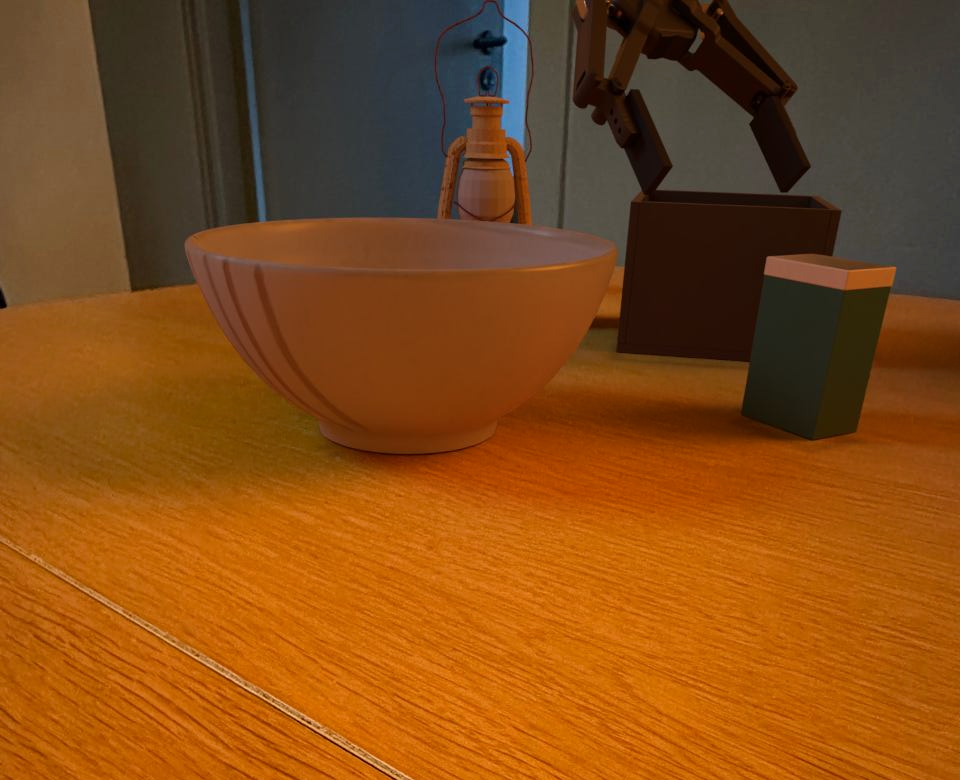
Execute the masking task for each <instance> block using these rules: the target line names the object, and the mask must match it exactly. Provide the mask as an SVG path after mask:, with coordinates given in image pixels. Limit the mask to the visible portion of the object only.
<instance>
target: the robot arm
mask: <svg viewBox="0 0 960 780" xmlns="http://www.w3.org/2000/svg"><path fill="white" fill-rule="evenodd" d="M571 16H572V18H573V22H574V25H575V29H576V31H577V32H576V33H577V34H576V35H577V36H576V49H575V61H574V62H575V63H574V75H573V86H572V87H573V88H572V102H573V104H574V106H576V107H577V108H579V109H582V110H583V109H584V110H585V109H586V108H588V107H589V106H592V107H594V109H593V111H592V112H591V114H590V118H591V120H592V121H593V122H594V124H596V125H598V126H604V125H605V124H606V123H607V124H608V127H609V129H610V131H611V133H612V135H613V139H614V140H615V143H616V144H617V145H618V146H619V148H620V149H623V150H624V152H625V154H626V157H627V159H628V161H629V164H630V166H631V168H632V170H633V173H634V175H635V178H636V181H637V183H638V184H639V186H640V190H642V192H643V194H644V195H652V194H653V193H654V192H655V190H658V188H659V187H660V185H661V183H662V182H663V181H664V180H665V178H666V177H667V175H668V174H669V173H670V171H671V170H672V169H673V167H674V165H673V162H672V161H671V158H670V156H669V154H668V151H667V150H666V147H665V145H664V142H663V140H662V138H661V136H660V133H659V131H658V129H657V127H656V125H655V122H654V120H653V117H652V116H651V113H650V110H649V109H648V106H647V104H646V102H645V99H644V97H643V95H642V92H641V90H640V89H639V88H638V89H637V88H635V89H634V88H630V90H629V91H628V92H627V93H626V90H627V88H628V86H629V84H630V82H631V79H632V76H633V74H634V71H635V68H636V66H637V64H638V61H639V58H640V56H641V54H642V55H644V56H646V58H647V60H660V59H665V60H669V61H672V62H677V63H678V64H680V65H681V66H682V67H683V68H684V69H685V70H687V71H689V72H694V71H697V72H700V74H701V75H703V76H704V77H705V78H706V79H708V80H709V82H711V83H712V84H713V85H715V87H717V88H718V89H719V90H720V91H722V92H723V93H724V94H725V95H726V96H728V97H729V98H730V99H731V100H732V101H733V102H735V103H736V105H738V106H739V107H741V109H743V110H744V111H745V112H746V113H748V114H749V115H750V116H751V117H752V119H751V121H750V122H749V123H748V125H749V128H750V130H751V132H752V134H753V136H754V138H755V140H756V142H757V145H758V147H759V149H760V151H761V154H762V156H763V158H764V160H765V162H766V165H767V167H768V168H769V171H770V174H771V175H772V177H773V179H774V182H775V184H776V186H777V188H778V190H779V192H780V193H781V194H787V193H789V192H790V191H791V189H793V188H794V186H795V185H797V183H798V182H799V181H800V180H801V179H802V178H803V176H805V174H806V173H807V172H809V170H810V169H811V168H812V165H811V163H810V161H809V159H808V156H807V154H806V152H805V151H804V149H803V146H802V144H801V141H800V140H799V137H798V134H797V130H796V128H795V126H794V124H793V122H792V119H791V118H790V117H791V116H790V115H789V113H788V111H787V109H786V107H785V106H786V105H787V104H788V102H789V101H790V100H791V99H792V98H793V96H794V95H795V94H796V93H797V92H798V90H799V88H798V85H797V83H796V82H795V81H794V80H793V78H792V77H791V76H790V75H789V74H788V73H787V71H786V70H784V68H783V67H782V66H781V65H780V64H779V63H778V62H777V60H776V59H775V58H774V57H773V56H772V55H771V53H770V52H769V51H768V50H767V49H766V48H765V47H764V46H763V44H762V43H761V42H760V41H759V40H758V39H757V38H756V37H755V36H754V34H753V33H752V32H751V31H750V30H749V29H748V28H747V26H746V25H744V23H743V22H742V21H741V20H740V19H739V18H738V16H737V15H736V13H735V11H734V10H733V7H732V6H731V4H730V2H729V0H712V1H711V3H708V4H701V2H700V1H699V0H576V2H575V4H574V7H573V8H572V10H571ZM607 28H608V29H610V30H613V31H616V32H617V33H618V34H619V35H620V36H621V37H622V39H621V43H620V46H619V48H618V51H617V53H616V55H615V57H614V58H615V60H614V62H613V64H612V67H611V69H610V72H609V74H608V76H607V77H605V62H606V48H607V47H606V46H607V45H606V44H607V43H606V42H607V30H608V29H607ZM699 31H700V32H701V33H700V34H699V38H700V39H701V40H702V41H701V43H700V44H699V46H698V47H697V49H696V50H695V51H694V52H691V51H690V49H691V48H692V46H693V44H694V43H695V41H696V39H697V37H698V32H699Z"/></svg>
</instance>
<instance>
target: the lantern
mask: <svg viewBox="0 0 960 780" xmlns="http://www.w3.org/2000/svg"><path fill="white" fill-rule="evenodd" d="M487 3H494V4H495V5H496V9H497V13H498V14H499V15H500V17H501V18H503V19H504V20H505V21H507V22H509V23H510V24H512V25H514V26H515V27H516V28H517V29H519V30H520V31H521V32H522V34H523V35H524V36H525V37H526V38H527V40H528V43H529V50H530V53H529V54H530V60H531V78H530V82H529V87H528V91H527V93H526V108H525V117H524V122H525V126H526V129H527V132H528V137H529V145H530V147H529V151H528V154H527V155H526V156H525V151H524V148H523V147H522V145H521V143H520V142H519V141H518V140H516V139H515V138H514V137H511V136H506V129H505V128H501V117H503V115H504V105H509V104H510V100H508V99H505V98H502V97H498V96H497V92H498V87H499V74H498V72H497V70H495V68H493V67H492V66H491V65H486V66H484V67H483V68H482V69H481V70H480V71H479V73H478V75H477V86H478V87H477V88H478V96H474V97H469V98H465V99H463V102H464V103H465V104H470V107H469V110H470V111H469V115H470V116H472V128H471V127H468V128H466V135H461V136H458V137H457V138H455V139H454V140H453V141H452V142H451V143H450V145H449V147H448V150H447V153H445V151H444V133H445V127H446V121H447V119H446V101H445V98H444V95H443V92H442V89H441V86H440V82H439V78H438V72H437V58H438V56H437V55H438V50H439V44H440V41H441V39H442V37H443V36H444V35H445V34H446V33H447V32H448V31H450V30H451V29H453V28H455V27H456V26H458V25H461V24H463V23H466V22H468V21H471V20H473V19H474V18H477V17H478V16H479V15H481V14H483V11H484V10H485V7H486V6H485V5H486V4H487ZM433 66H434V77H435V81H436V85H437V88H438V91H439V94H440V97H441V100H442V108H443V110H442V112H443V113H442V115H443V124H442V129H441V137H440V140H441V141H440V146H441V147H440V149H441V152H442V154H443V156H444V157H445V158H446V159H445V164H444V171H443V177H442V183H441V187H440V195H439V202H438V209H437V216H436V217H437V218H436V219H452V211H453V204H454V205H456V209H457V215H458V218H459V220H474V221H489V222H502V223H511V220H512V218H513V216H514V211H515V207H516V208H517V221H518V224H524V225H533V220H532V208H531V197H530V189H529V181H528V172H527V171H528V170H527V163H526V162H528V159H529V157H530V155H531V152H532V150H533V142H532V141H533V140H532V135H531V130H530V128H529V123H528V109H529V101H530V92H531V89H532V85H533V80H534V75H535V74H534V55H533V44H532V41H531V38H530V37H529V35H528V34H527V32H525V30H524V29H523V28H522V27H520V25H519V24H517V23H516V22H514V21H513V20H511V19H509V18H508V17H506V16H505V15H503V13H502V12H501V10H500V6H499V2H498V1H496V0H484V1H483V3H482V7H481V9H480V10H479V11H478V12H477V13H476V14H473V15H471V16H470V17H467V18H465V19H462V20H460V21H458V22H456V23H454V24H452V25H451V26H448V27H447V28H445V30H444V31H443V32H442V33H441V34H440V35H439V37H438V39H437V41H436V46H435V52H434V65H433ZM486 69H491V70H492V71H493V73H495V75H496V85H495V92H494V95H493V94H490V90H485V94H481V85H480V77H481V74H482V73H483V72H484V71H485V70H486ZM474 104H486V105H474ZM492 104H494V105H495V104H497V105H498V106H496V105H495V106H494V105H492ZM499 105H500V106H499ZM508 153H509V154H508ZM461 158H467V159H465V160H463V161H462V165H461V166H460V163H461ZM510 158H511V159H510ZM507 159H510V160H511V165H512V166H511V167H510V161H507ZM459 168H462V169H461V172H460V174H459ZM511 168H512V170H511ZM458 174H459V176H458ZM456 185H457V188H456ZM455 191H456V195H455ZM455 196H456V197H455ZM454 198H456V200H454Z"/></svg>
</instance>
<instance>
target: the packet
mask: <svg viewBox="0 0 960 780" xmlns="http://www.w3.org/2000/svg"><path fill="white" fill-rule="evenodd" d="M896 271H897V267H896V266H891V265H887V264H886V265H885V264H879V263H873V262H866V261H861V260H855V259H849V258H843V257H836V256H832V257H831V256H825V255H819V254H800V255H784V256H768V257H767V259H766V265H765V271H764V275H765V276H764V282H763V288H762V294H761V299H760V305H759V311H758V317H757V323H756V329H755V334H754V340H753V346H752V352H751V358H750V361H749V365H748V370H747V375H746V381H745V388H744V394H743V400H742V404H741V411H740V415H742V416H745V417H748V418H750V419H753V420H755V421H759V422H761V423H764V424H766V425H770V426H772V427H776V428H778V429H780V430H784V431H786V432H789V433H791V434H794V435H797V436H799V437H800V436H801V437H803V438H805V439H809V440H811V441H815V440H820V439H826V438H831V437H836V436H841V435H847V434H851V433H857V431H858V427H859V422H860V418H861V414H862V411H863V410H862V409H863V405H864V401H865V399H866V398H865V397H866V393H867V389H868V384H869V380H870V376H871V372H872V369H873V364H874V361H875V355H876V352H877V348H878V347H877V346H878V343H879V339H880V334H881V330H882V327H883V322H884V318H885V314H886V310H887V306H888V301H889V297H890V293H891V289H892V286H893V285H894V279H895V276H896Z"/></svg>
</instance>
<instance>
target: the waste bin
mask: <svg viewBox="0 0 960 780" xmlns="http://www.w3.org/2000/svg"><path fill="white" fill-rule="evenodd" d="M629 206H630V207H629V217H628V227H627V236H626V246H625V257H624V258H625V259H624V267H623V277H622V288H621V297H620V298H621V299H620V309H619V310H620V311H619V320H618V329H617V330H618V331H617V339H616V349H615V351H616V353H624V354H627V353H628V354H640V355H651V356H652V355H653V356H666V357H667V356H668V357H679V358H681V357H682V358H695V359H712V360H723V361H724V360H725V361H737V362H738V361H739V362H750V358H751V352H752V346H753V340H754V334H755V329H756V323H757V317H758V311H759V305H760V299H761V294H762V288H763V282H764V276H765V275H764V271H765V265H766V259H767V257H768V256H784V255H800V254H819V255H825V256H831V257H834V256H833V255H834V250H835V246H836V241H837V235H838V232H839V226H840V223H841V222H840V221H841V216H842V212H843V210H841V209H840V208H838V207H837V206H835V205H834V204H832V203H830V202H829V201H827V200H826V199H824V198H822V197H821V196H819V195H808V194H807V195H804V194H803V195H801V194H799V195H798V194H782V193H781V194H780V193H779V194H777V193H755V192H754V193H753V192H752V193H751V192H750V193H749V192H729V191H728V192H727V191H725V192H724V191H703V190H702V191H701V190H675V189H656V190H655V192H654V193H653V194H652V195H644V194H643V192H642V189H640V191H639V192H638V194H637V195H635V197H634V198H633V199H632V200H631V201H630V205H629Z"/></svg>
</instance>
